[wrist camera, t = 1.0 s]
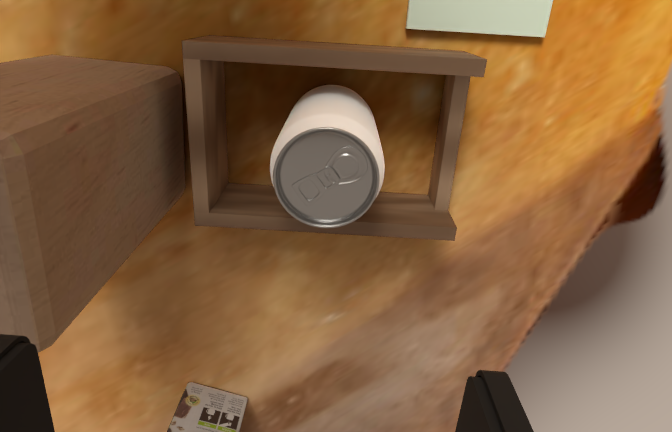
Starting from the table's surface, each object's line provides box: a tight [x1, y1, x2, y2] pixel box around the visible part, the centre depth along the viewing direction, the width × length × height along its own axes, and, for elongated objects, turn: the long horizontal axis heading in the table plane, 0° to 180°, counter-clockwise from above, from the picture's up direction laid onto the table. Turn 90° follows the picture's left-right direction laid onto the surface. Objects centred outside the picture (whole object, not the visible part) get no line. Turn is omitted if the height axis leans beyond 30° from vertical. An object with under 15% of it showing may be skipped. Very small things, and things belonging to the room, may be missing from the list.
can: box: [270, 85, 385, 228], centre depth 30 cm, size 6×6×12 cm
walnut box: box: [182, 35, 487, 241], centre depth 33 cm, size 12×18×6 cm, turn 87°
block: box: [0, 55, 185, 352], centre depth 27 cm, size 10×10×20 cm
